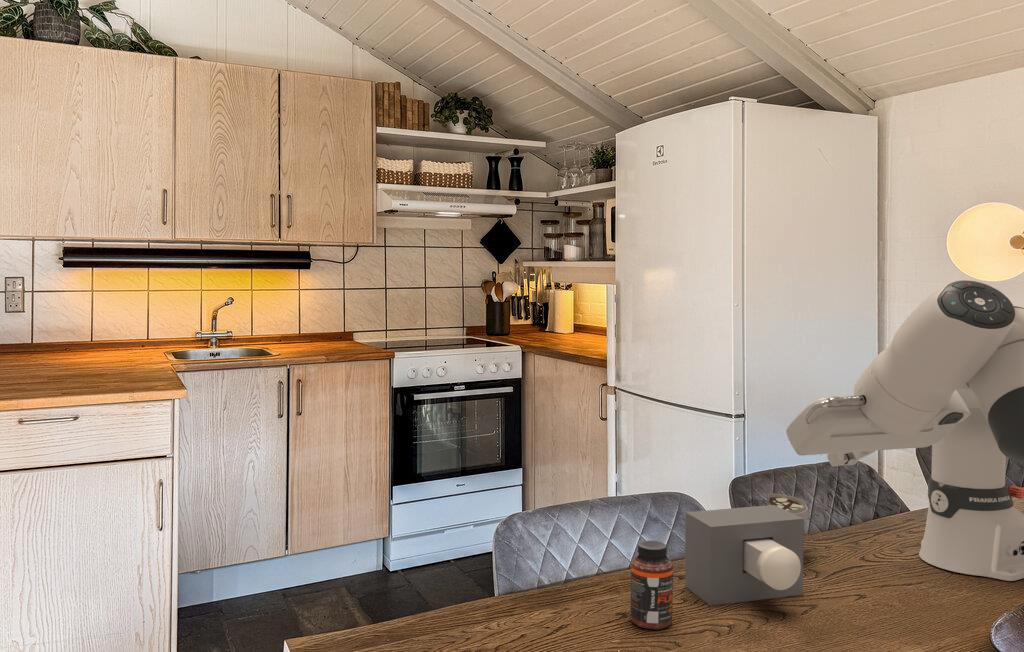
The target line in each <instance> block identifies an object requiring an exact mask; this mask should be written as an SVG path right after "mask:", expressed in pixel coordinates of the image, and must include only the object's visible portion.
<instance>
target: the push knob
mask: <svg viewBox="0 0 1024 652" xmlns="http://www.w3.org/2000/svg"><path fill="white" fill-rule="evenodd" d="M743 570H745V571H746V572H748V573H749V574H751V575H752V576H754V577H756V578H757V579H759V580H760V581H763V582H764V583H766V584H767V585H769V586H770V587H772V588H774V589H776V590H785V589H788V588H790V587H791V586H792V585H793V584H794V583H795V582H796V581H797V579H798V577H799V575H800V571H801V564H800V560H799V558H798V556H797V555H796V554H795V553H794V552H793V551H791V550H789V549H787V548H785V547H784V546H782V545H780V544H778V543H776V542H774V541H772V540H770V539H769V538H767V537H766V538H756V539H746V540H743Z"/></svg>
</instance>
